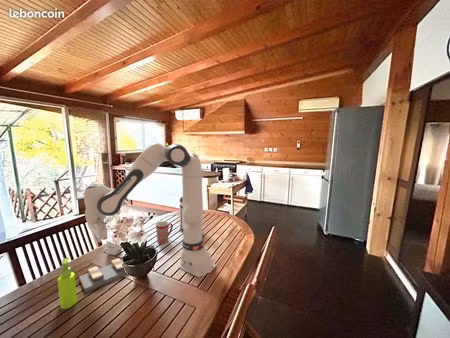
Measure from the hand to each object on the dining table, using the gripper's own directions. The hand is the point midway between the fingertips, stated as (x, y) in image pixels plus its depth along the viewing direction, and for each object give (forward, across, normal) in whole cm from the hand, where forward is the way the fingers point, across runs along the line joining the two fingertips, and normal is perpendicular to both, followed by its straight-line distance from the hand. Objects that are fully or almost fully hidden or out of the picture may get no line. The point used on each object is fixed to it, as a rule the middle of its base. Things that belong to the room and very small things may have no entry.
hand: (98, 241), depth 105 cm
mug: (+20, +10, -44) cm, 49 cm away
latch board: (+19, -3, -2) cm, 20 cm away
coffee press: (+20, +16, -68) cm, 72 cm away
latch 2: (+17, -3, -8) cm, 19 cm away
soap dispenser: (+19, -11, +16) cm, 27 cm away
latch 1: (+16, -3, +3) cm, 17 cm away
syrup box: (+20, +18, -13) cm, 29 cm away
